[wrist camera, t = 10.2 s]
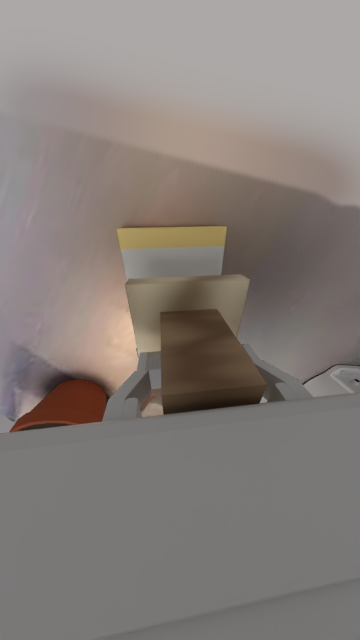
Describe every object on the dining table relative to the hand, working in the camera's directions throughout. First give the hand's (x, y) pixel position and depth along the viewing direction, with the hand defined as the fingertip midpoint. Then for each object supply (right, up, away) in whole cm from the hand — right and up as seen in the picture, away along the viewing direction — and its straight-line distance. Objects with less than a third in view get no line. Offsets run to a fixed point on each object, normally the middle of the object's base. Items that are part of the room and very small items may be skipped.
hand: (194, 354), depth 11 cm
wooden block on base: (-1, +2, +4) cm, 4 cm away
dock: (-2, +7, +13) cm, 15 cm away
